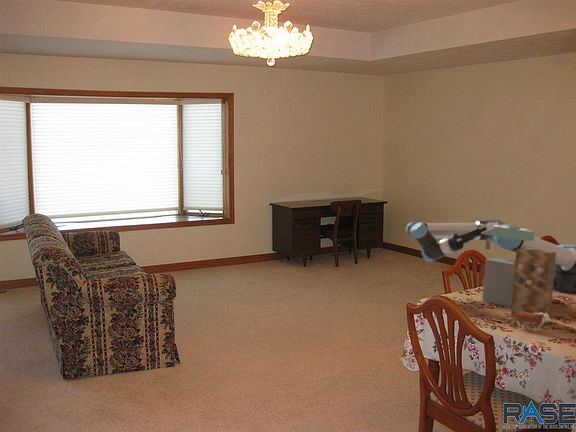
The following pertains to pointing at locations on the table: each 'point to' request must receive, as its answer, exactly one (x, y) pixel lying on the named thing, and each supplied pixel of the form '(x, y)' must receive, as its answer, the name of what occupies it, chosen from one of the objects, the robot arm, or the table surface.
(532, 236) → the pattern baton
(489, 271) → the grey plinth
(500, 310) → the table surface
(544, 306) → the walnut stand
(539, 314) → the bull figurine
